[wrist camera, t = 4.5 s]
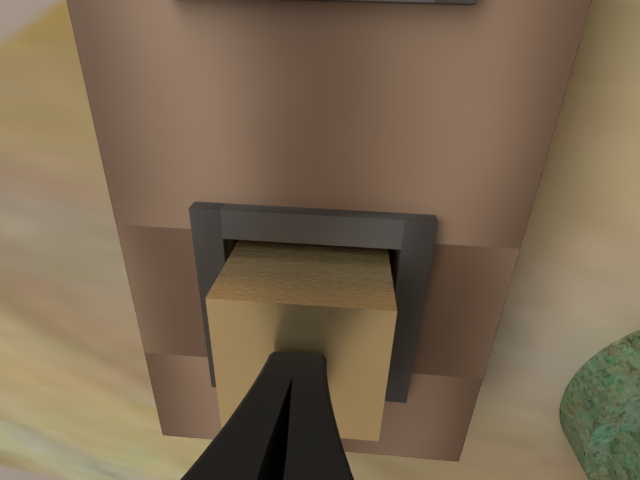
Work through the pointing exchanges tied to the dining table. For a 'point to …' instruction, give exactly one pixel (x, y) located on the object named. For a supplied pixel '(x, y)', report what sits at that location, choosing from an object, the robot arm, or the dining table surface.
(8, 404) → the dining table surface
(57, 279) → the dining table surface
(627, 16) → the dining table surface
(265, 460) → the robot arm
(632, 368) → the decorative artifact
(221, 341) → the brass peg
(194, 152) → the walnut board
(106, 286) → the dining table surface
